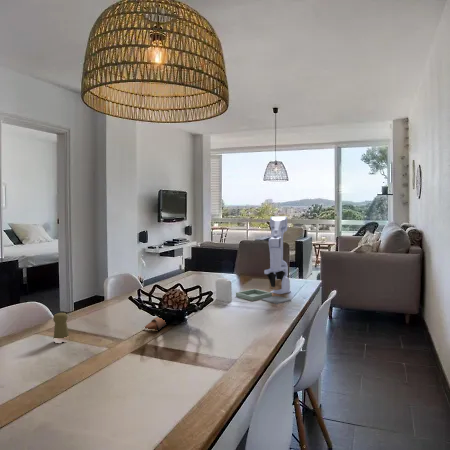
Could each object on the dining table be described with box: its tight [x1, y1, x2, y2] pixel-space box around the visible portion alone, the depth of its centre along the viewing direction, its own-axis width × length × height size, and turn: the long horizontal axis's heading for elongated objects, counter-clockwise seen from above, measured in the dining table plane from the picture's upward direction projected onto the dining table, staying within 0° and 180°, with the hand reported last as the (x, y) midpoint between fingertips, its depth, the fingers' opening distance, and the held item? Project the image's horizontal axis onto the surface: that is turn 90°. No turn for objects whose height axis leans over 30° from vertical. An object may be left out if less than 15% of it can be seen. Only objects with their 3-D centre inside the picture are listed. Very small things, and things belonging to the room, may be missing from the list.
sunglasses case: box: [144, 316, 167, 331], centre depth 172 cm, size 18×7×7 cm, turn 166°
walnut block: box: [268, 279, 282, 291], centre depth 208 cm, size 4×5×5 cm
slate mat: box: [261, 295, 292, 305], centre depth 208 cm, size 11×11×1 cm
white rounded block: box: [215, 277, 233, 303], centre depth 211 cm, size 10×4×12 cm, turn 39°
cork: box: [52, 312, 70, 339], centre depth 154 cm, size 6×6×11 cm
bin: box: [235, 288, 273, 302], centre depth 218 cm, size 14×14×2 cm
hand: (276, 285), depth 208 cm, fingers closed on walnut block, 4 cm apart
